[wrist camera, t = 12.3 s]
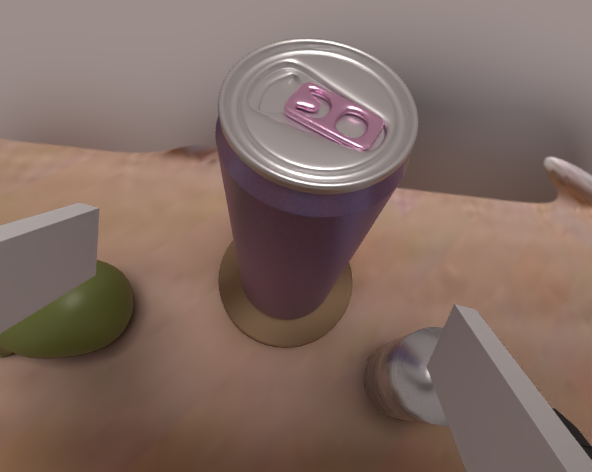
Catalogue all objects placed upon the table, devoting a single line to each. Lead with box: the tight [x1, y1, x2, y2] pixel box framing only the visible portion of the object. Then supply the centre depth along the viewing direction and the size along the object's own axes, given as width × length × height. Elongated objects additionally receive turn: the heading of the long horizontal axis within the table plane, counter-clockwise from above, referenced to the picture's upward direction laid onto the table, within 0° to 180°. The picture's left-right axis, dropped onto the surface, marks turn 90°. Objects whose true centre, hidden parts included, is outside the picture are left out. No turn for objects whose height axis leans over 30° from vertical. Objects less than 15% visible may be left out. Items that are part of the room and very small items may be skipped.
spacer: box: [364, 327, 449, 426], centre depth 19 cm, size 4×4×6 cm
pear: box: [0, 260, 134, 358], centre depth 20 cm, size 6×5×10 cm
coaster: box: [219, 240, 352, 348], centre depth 23 cm, size 9×9×1 cm
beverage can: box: [215, 38, 418, 319], centre depth 16 cm, size 6×6×15 cm
